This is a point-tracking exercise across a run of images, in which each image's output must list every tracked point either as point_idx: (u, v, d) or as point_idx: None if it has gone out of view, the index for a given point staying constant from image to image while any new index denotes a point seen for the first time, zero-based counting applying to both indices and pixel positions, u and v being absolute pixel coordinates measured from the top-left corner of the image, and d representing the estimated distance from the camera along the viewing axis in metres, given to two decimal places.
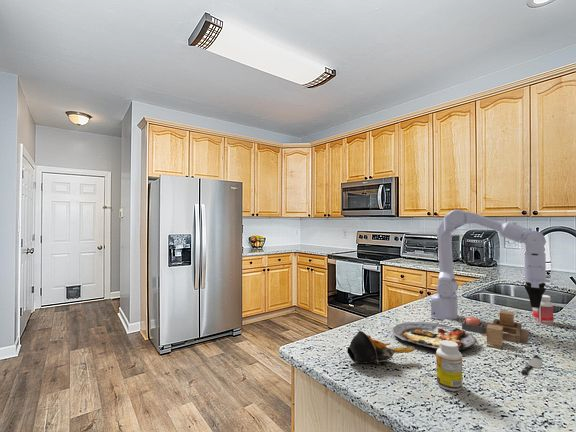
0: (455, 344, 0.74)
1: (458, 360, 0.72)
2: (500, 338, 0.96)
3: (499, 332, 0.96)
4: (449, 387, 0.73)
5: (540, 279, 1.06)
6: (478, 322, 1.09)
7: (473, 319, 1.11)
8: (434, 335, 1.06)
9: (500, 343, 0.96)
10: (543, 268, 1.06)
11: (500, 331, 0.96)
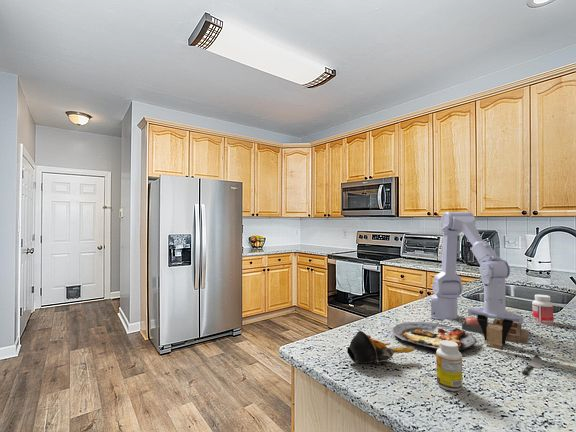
0: (455, 344, 0.74)
1: (458, 360, 0.72)
2: (500, 338, 0.96)
3: (499, 332, 0.96)
4: (449, 387, 0.73)
5: (484, 311, 0.99)
6: None
7: (473, 319, 1.11)
8: (434, 335, 1.06)
9: (500, 343, 0.96)
10: (487, 300, 0.98)
11: (500, 331, 0.96)
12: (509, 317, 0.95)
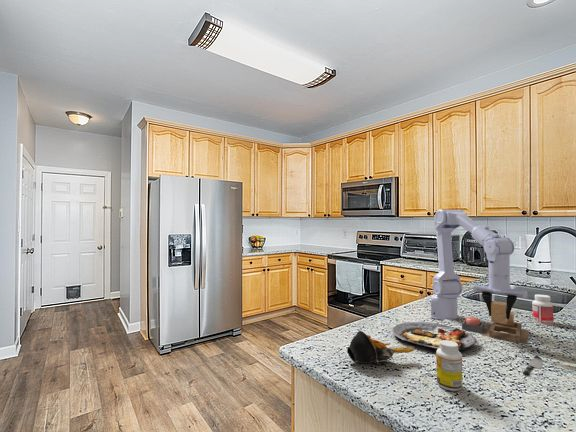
0: (455, 344, 0.74)
1: (458, 360, 0.72)
2: (504, 313, 0.99)
3: (503, 307, 0.99)
4: (449, 387, 0.73)
5: (489, 287, 1.02)
6: (478, 322, 1.09)
7: (473, 319, 1.11)
8: (434, 335, 1.06)
9: (504, 318, 0.99)
10: (492, 276, 1.01)
11: (504, 306, 0.99)
12: (513, 292, 0.97)
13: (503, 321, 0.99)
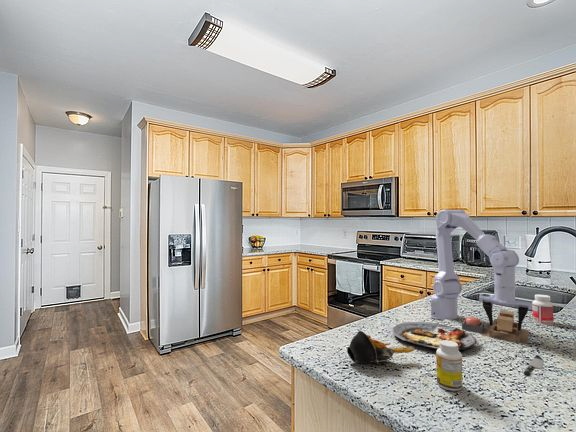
0: (455, 344, 0.74)
1: (458, 360, 0.72)
2: (510, 328, 1.02)
3: (509, 322, 1.02)
4: (449, 387, 0.73)
5: (495, 298, 1.05)
6: (478, 322, 1.09)
7: (473, 319, 1.11)
8: (434, 335, 1.06)
9: (510, 333, 1.02)
10: (497, 288, 1.04)
11: (510, 322, 1.02)
12: (519, 304, 1.00)
13: None
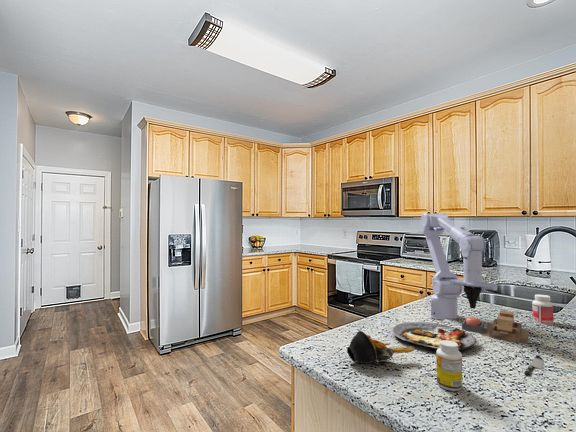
0: (455, 344, 0.74)
1: (458, 360, 0.72)
2: (510, 328, 1.02)
3: (509, 322, 1.02)
4: (449, 387, 0.73)
5: (464, 281, 1.12)
6: (478, 322, 1.09)
7: (473, 319, 1.11)
8: (434, 335, 1.06)
9: (510, 333, 1.02)
10: (466, 271, 1.11)
11: (510, 322, 1.02)
12: (484, 285, 1.08)
13: None
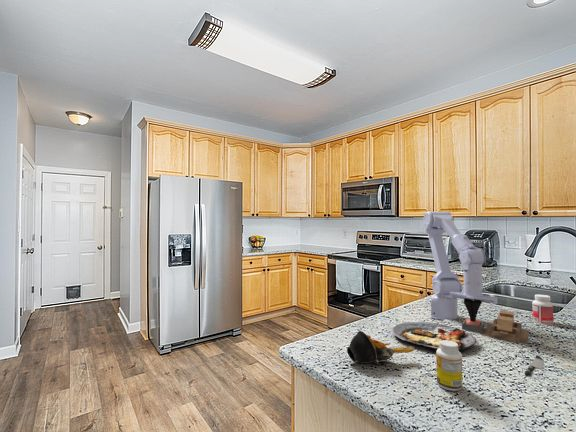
0: (455, 344, 0.74)
1: (458, 360, 0.72)
2: (510, 328, 1.02)
3: (509, 322, 1.02)
4: (449, 387, 0.73)
5: (464, 293, 1.12)
6: (478, 324, 1.09)
7: None
8: (434, 335, 1.06)
9: (510, 333, 1.02)
10: (466, 284, 1.11)
11: (510, 322, 1.02)
12: (485, 298, 1.08)
13: None
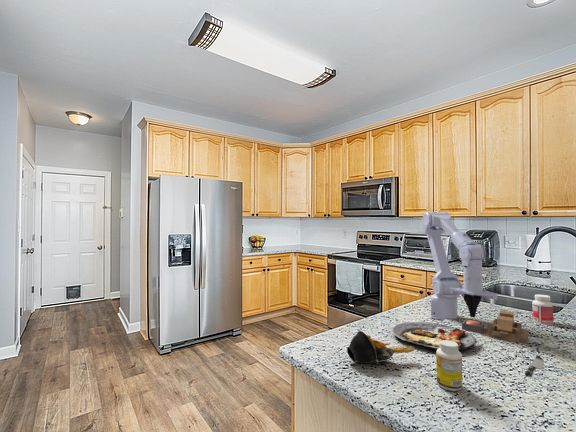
0: (455, 344, 0.74)
1: (458, 360, 0.72)
2: (510, 328, 1.02)
3: (509, 322, 1.02)
4: (449, 387, 0.73)
5: (464, 289, 1.12)
6: None
7: (473, 322, 1.11)
8: (434, 335, 1.06)
9: (510, 333, 1.02)
10: (466, 280, 1.11)
11: (510, 322, 1.02)
12: (484, 294, 1.08)
13: None
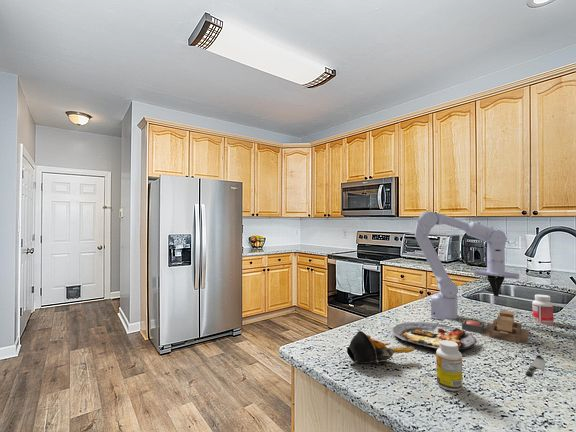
0: (455, 344, 0.74)
1: (458, 360, 0.72)
2: (510, 328, 1.02)
3: (509, 322, 1.02)
4: (449, 387, 0.73)
5: (487, 271, 1.21)
6: None
7: (473, 322, 1.11)
8: (434, 335, 1.06)
9: (510, 333, 1.02)
10: (490, 262, 1.20)
11: (510, 322, 1.02)
12: (507, 274, 1.17)
13: None
